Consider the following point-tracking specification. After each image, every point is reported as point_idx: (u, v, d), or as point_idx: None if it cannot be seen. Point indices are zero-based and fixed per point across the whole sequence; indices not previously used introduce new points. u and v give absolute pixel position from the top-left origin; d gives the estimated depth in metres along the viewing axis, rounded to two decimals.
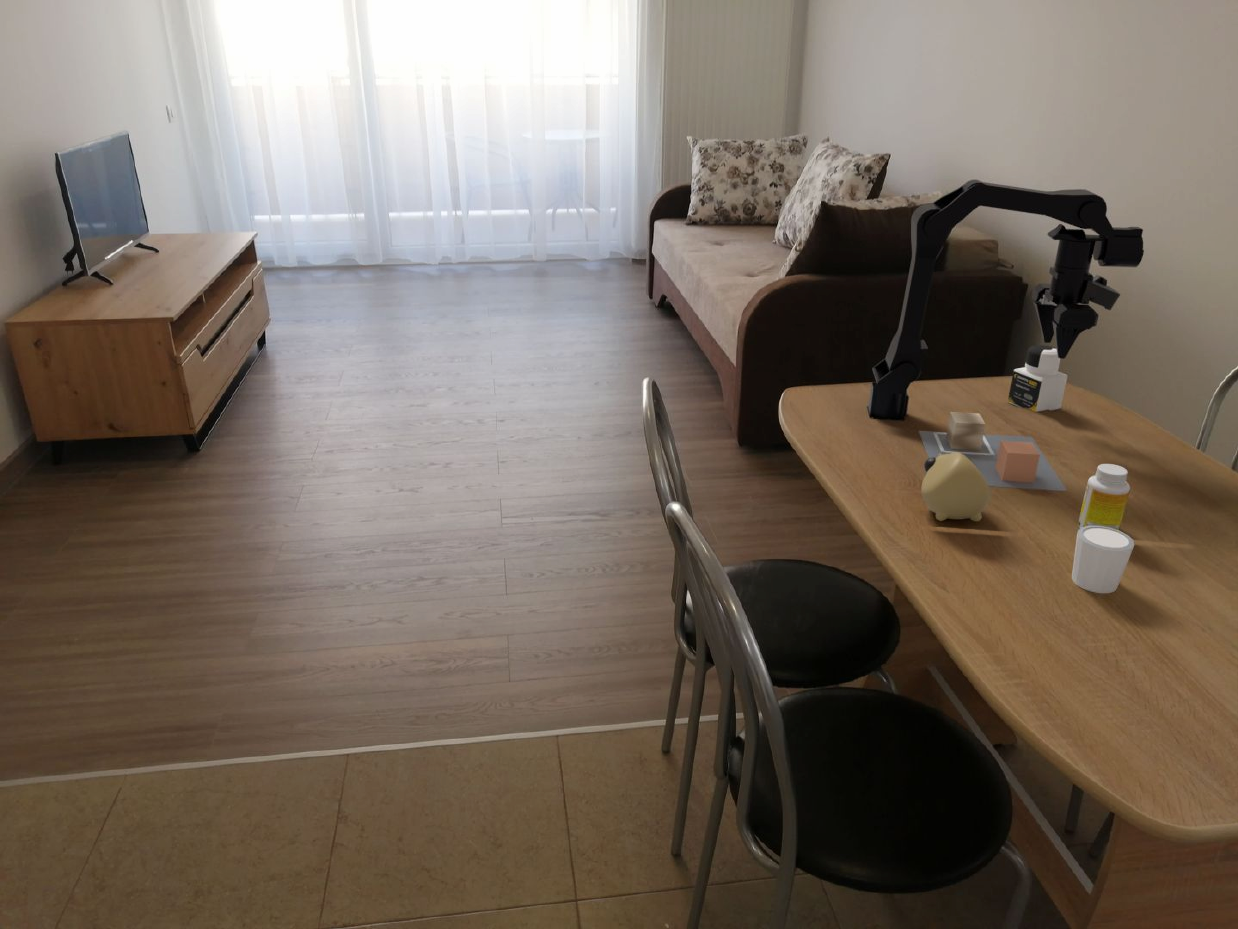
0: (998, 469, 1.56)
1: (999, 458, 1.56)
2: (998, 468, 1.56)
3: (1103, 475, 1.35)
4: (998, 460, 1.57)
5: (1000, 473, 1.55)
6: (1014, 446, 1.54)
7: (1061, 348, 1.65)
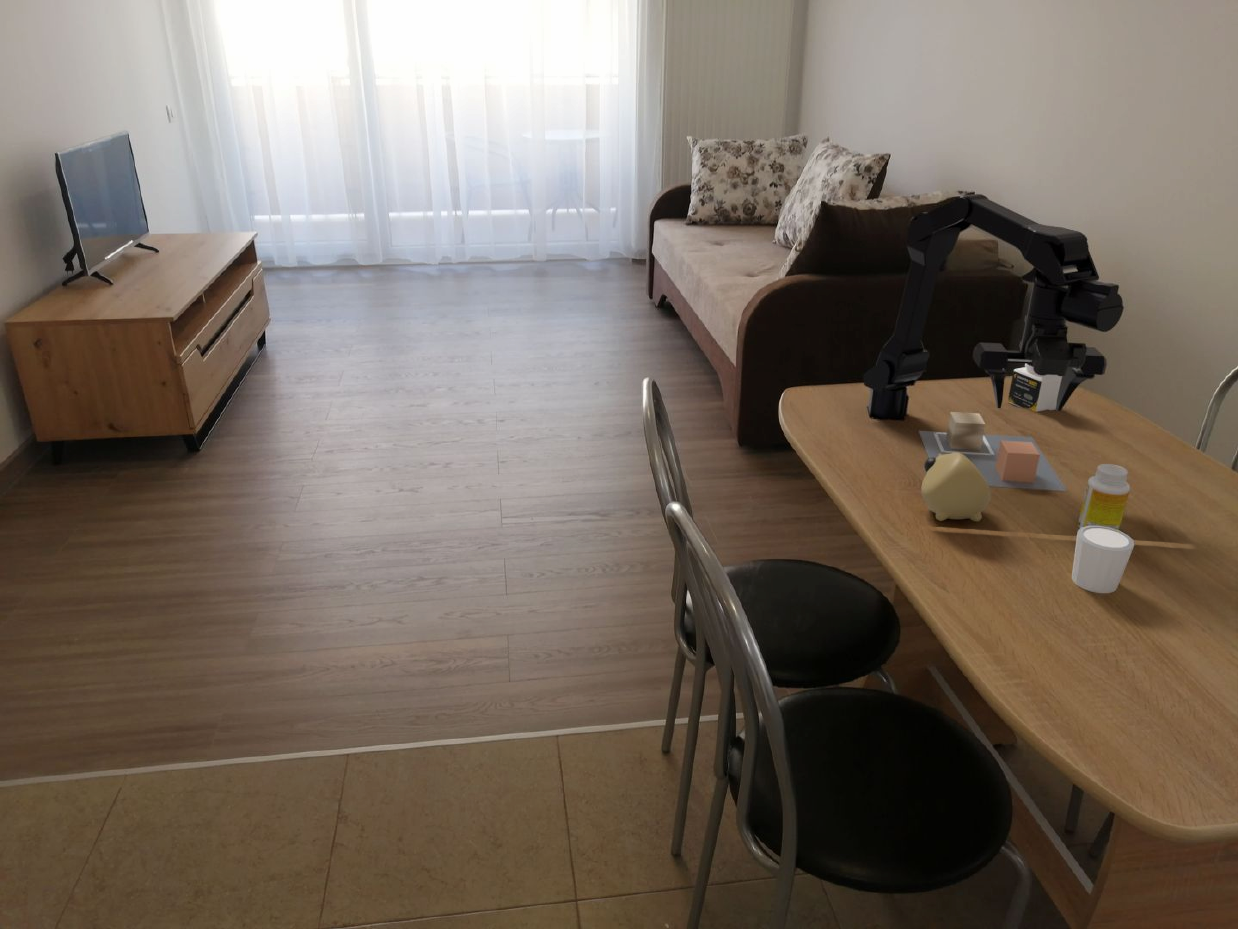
0: (998, 469, 1.56)
1: (999, 458, 1.56)
2: (998, 468, 1.56)
3: (1103, 475, 1.35)
4: (998, 460, 1.57)
5: (1000, 473, 1.55)
6: (1014, 446, 1.54)
7: (994, 394, 1.51)
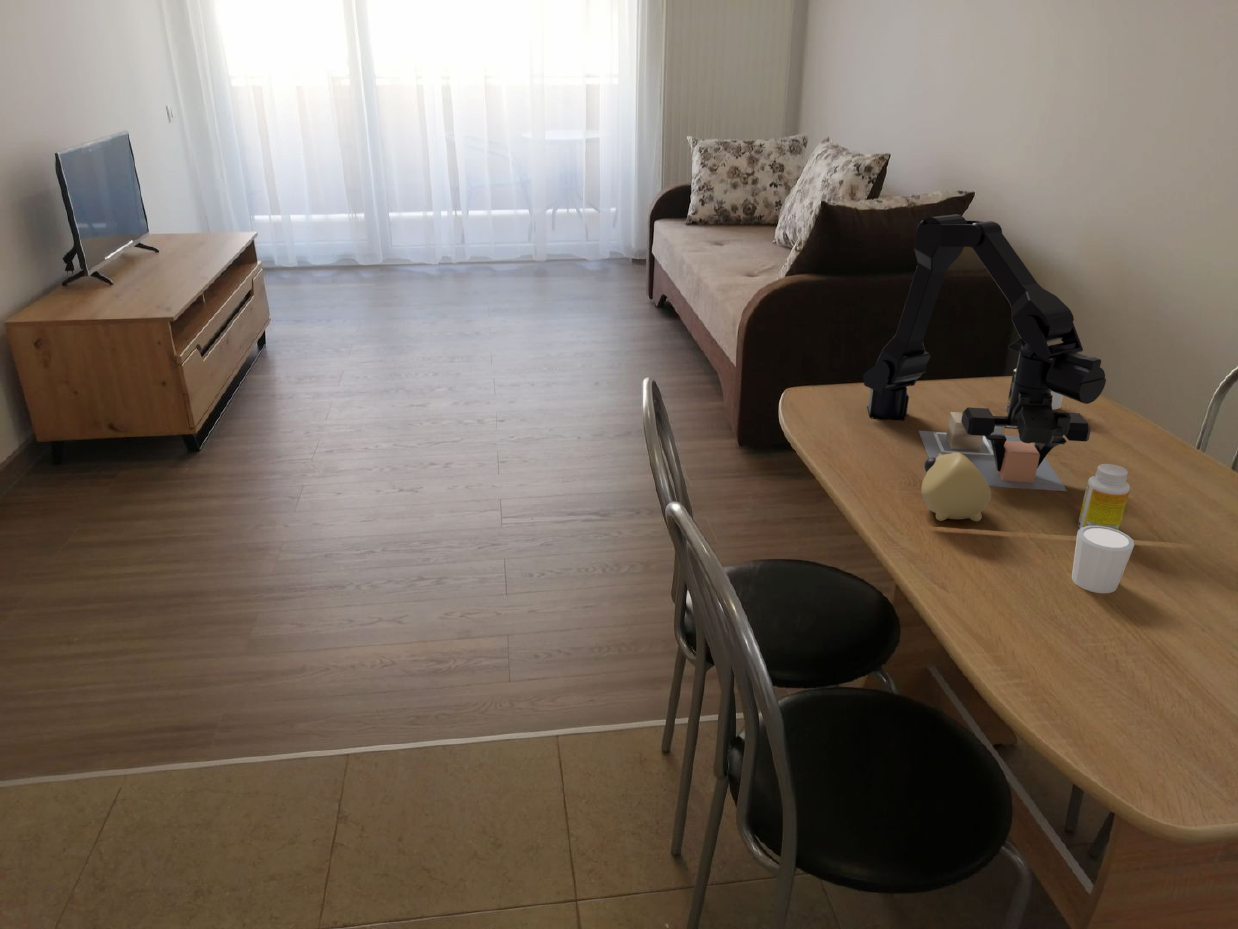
0: None
1: None
2: None
3: (1103, 475, 1.35)
4: None
5: (1000, 473, 1.55)
6: (1014, 446, 1.54)
7: (994, 457, 1.56)
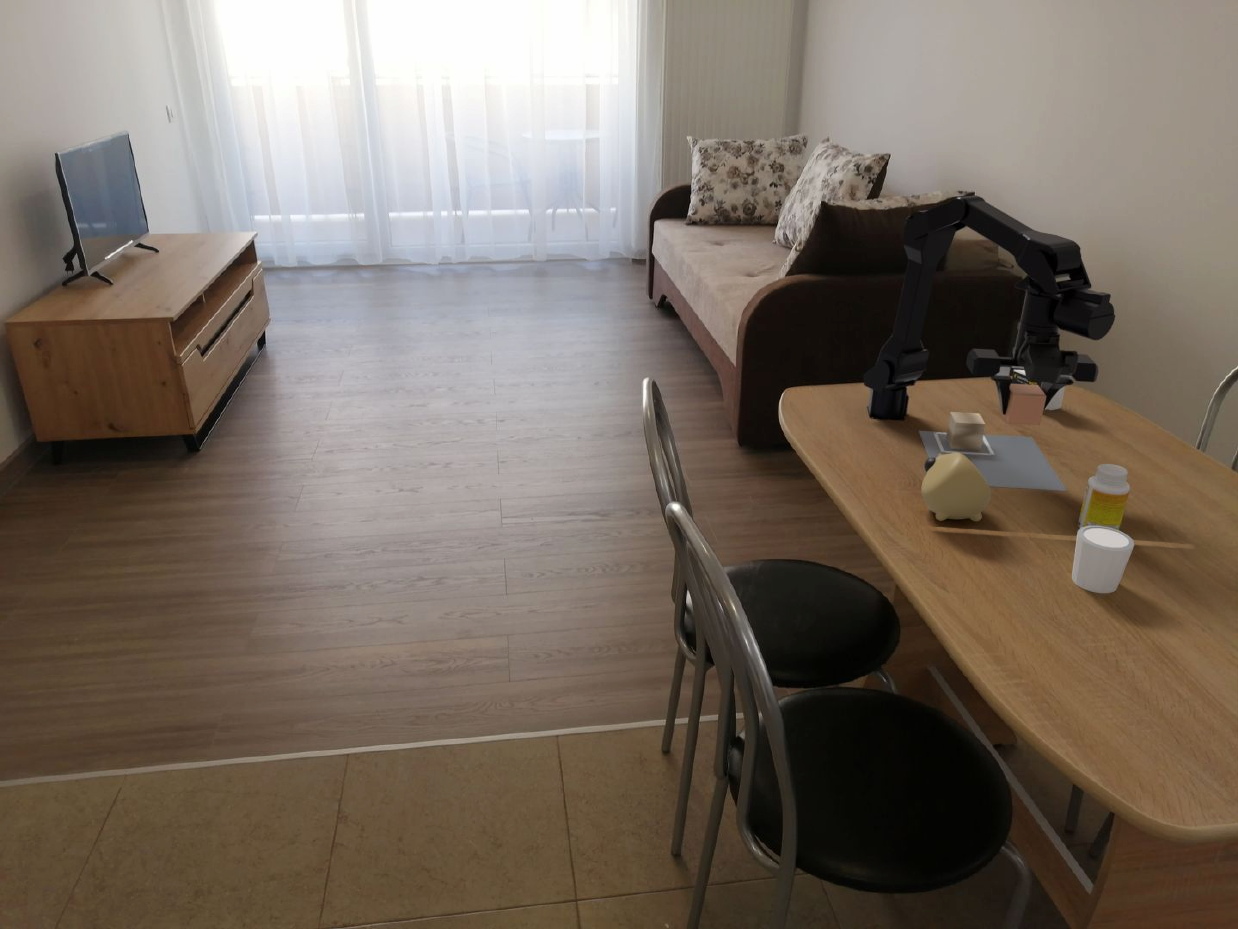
0: None
1: None
2: None
3: (1103, 475, 1.35)
4: None
5: (1006, 416, 1.52)
6: (1020, 388, 1.51)
7: (999, 400, 1.53)
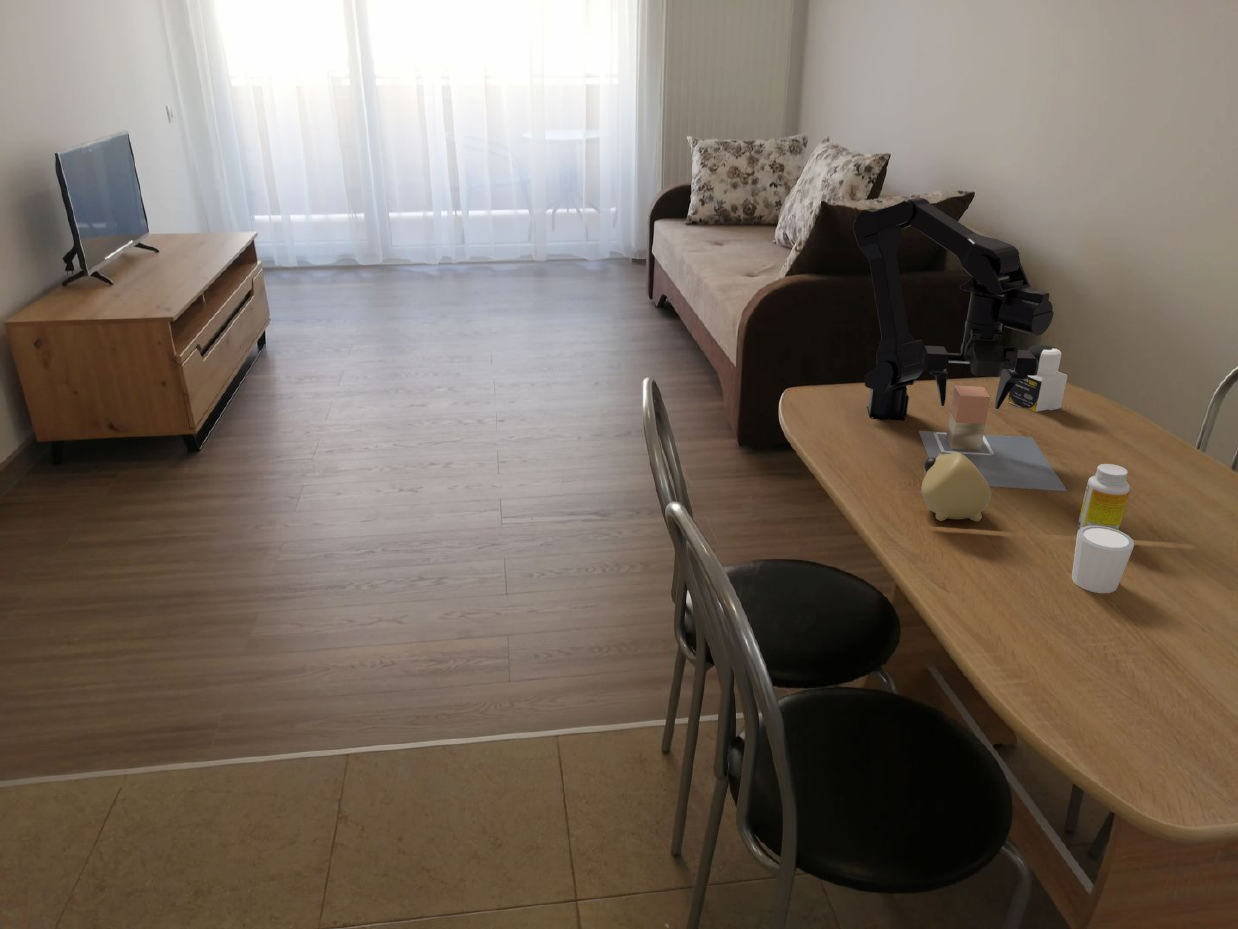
0: (952, 413, 1.66)
1: (953, 403, 1.66)
2: (952, 411, 1.66)
3: (1103, 475, 1.35)
4: (952, 404, 1.66)
5: (954, 416, 1.64)
6: (966, 390, 1.63)
7: None
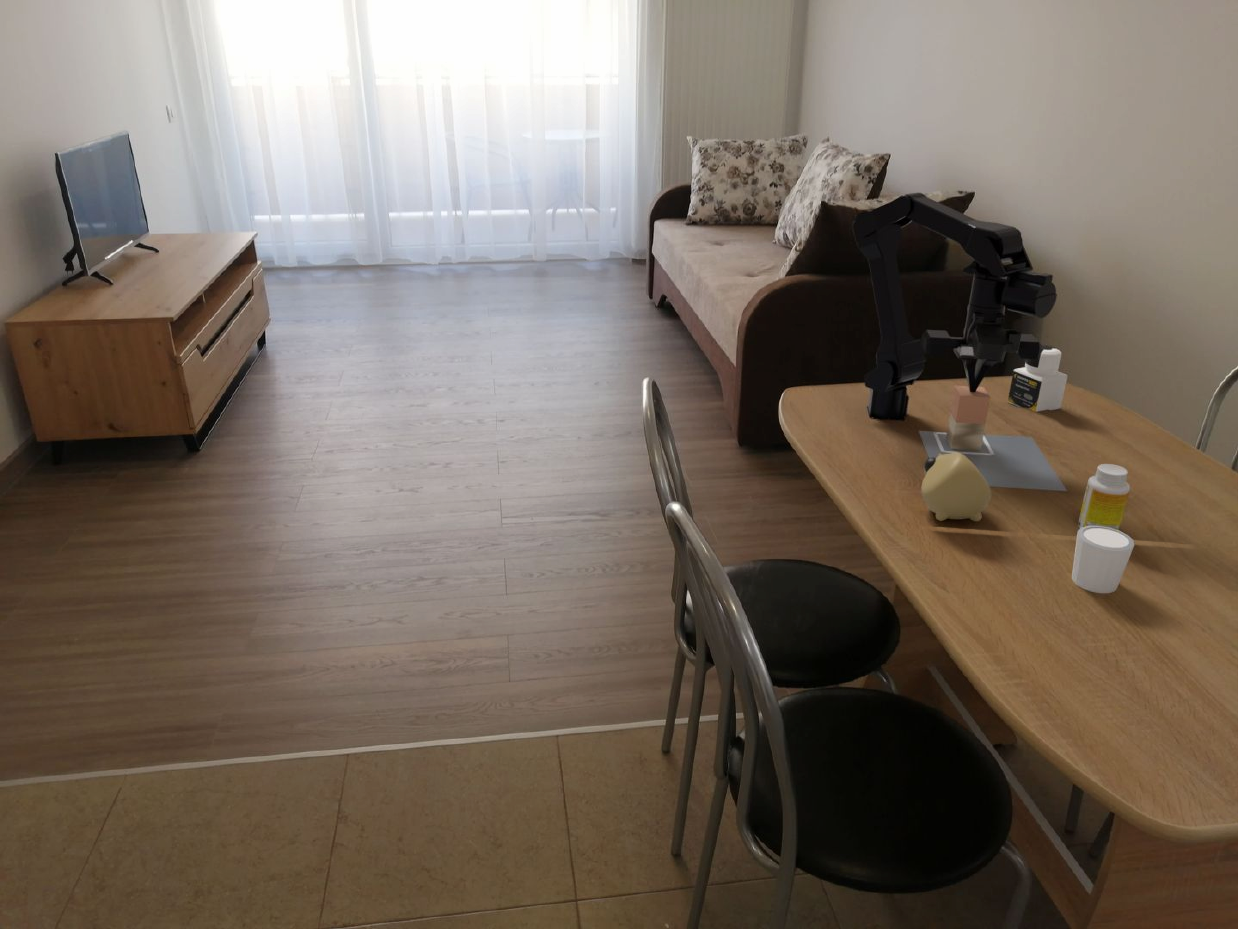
0: (952, 413, 1.66)
1: (953, 403, 1.66)
2: (952, 411, 1.66)
3: (1103, 475, 1.35)
4: (952, 404, 1.66)
5: (954, 416, 1.64)
6: (966, 390, 1.63)
7: (967, 379, 1.63)
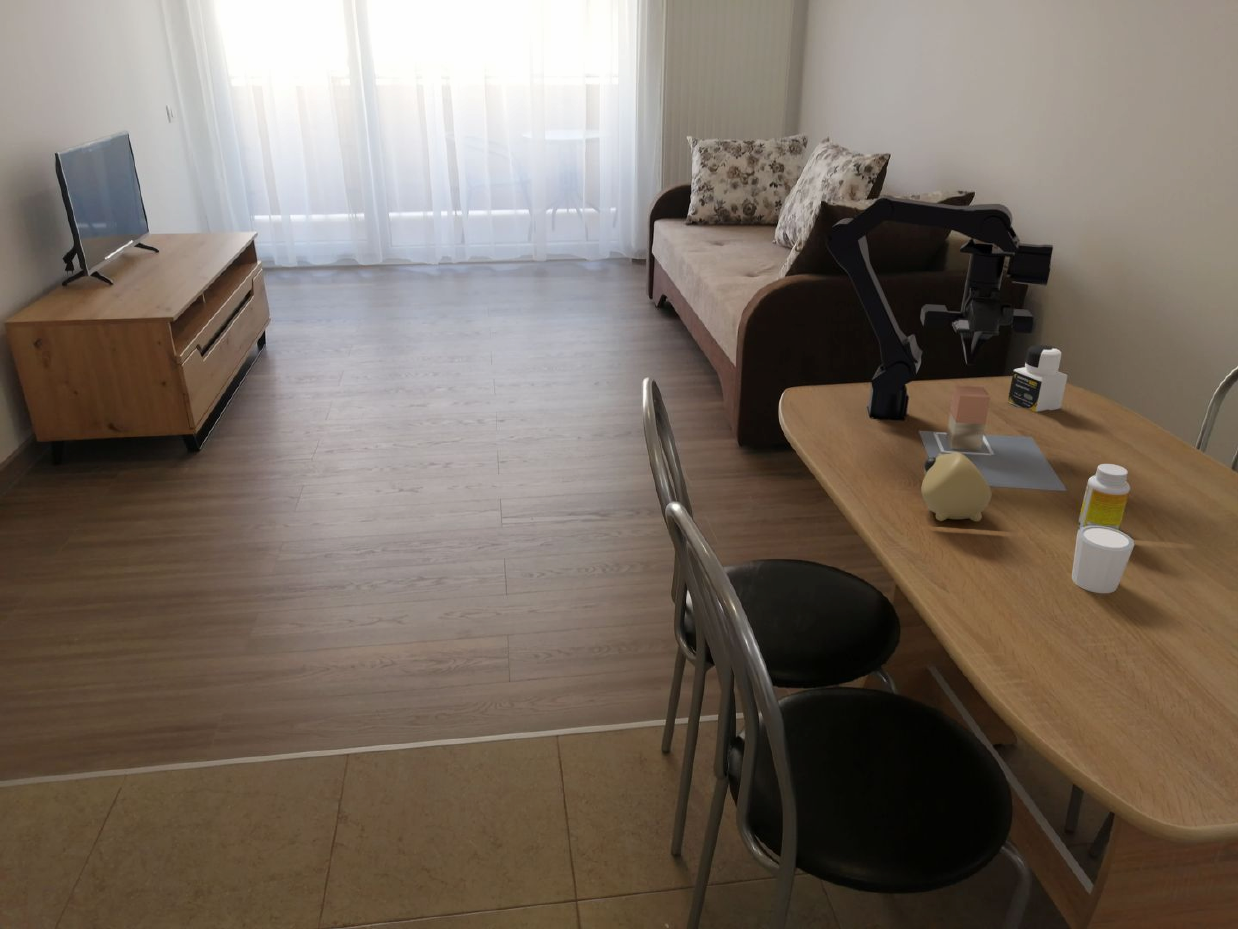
0: (952, 413, 1.66)
1: (953, 403, 1.66)
2: (952, 411, 1.66)
3: (1103, 475, 1.35)
4: (952, 404, 1.66)
5: (954, 416, 1.64)
6: (966, 390, 1.63)
7: (964, 352, 1.70)
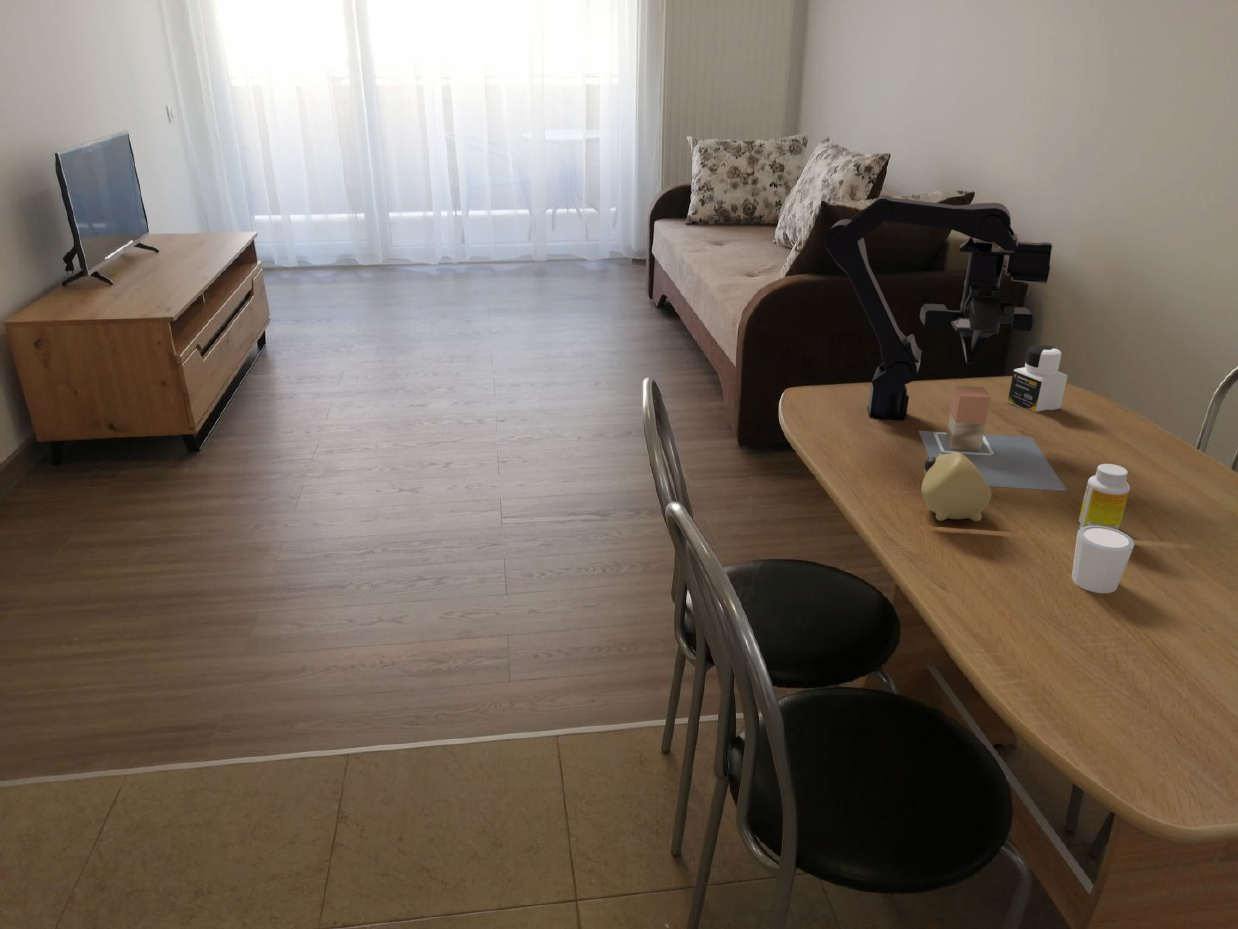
0: (952, 413, 1.66)
1: (953, 403, 1.66)
2: (952, 411, 1.66)
3: (1103, 475, 1.35)
4: (952, 404, 1.66)
5: (954, 416, 1.64)
6: (966, 390, 1.63)
7: (964, 350, 1.71)
